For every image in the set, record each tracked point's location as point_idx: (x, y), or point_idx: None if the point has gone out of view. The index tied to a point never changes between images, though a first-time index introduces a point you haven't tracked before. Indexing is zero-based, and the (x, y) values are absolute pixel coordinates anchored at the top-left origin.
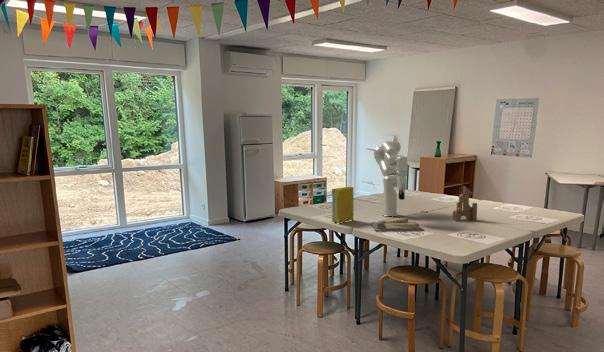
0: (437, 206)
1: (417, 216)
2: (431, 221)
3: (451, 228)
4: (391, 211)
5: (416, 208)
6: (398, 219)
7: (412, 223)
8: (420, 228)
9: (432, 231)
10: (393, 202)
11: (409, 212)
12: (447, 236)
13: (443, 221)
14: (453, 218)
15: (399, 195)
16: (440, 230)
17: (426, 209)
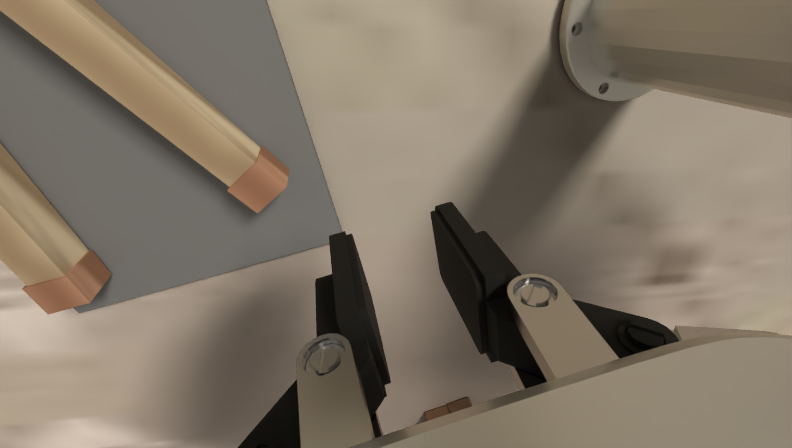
0: (768, 316)
1: (557, 238)
2: (411, 320)
3: (247, 415)
4: (617, 23)
5: (780, 220)
6: (182, 112)
7: (38, 261)
8: (100, 290)
9: (105, 349)
10: (717, 59)
11: (689, 181)
12: (5, 424)
13: (417, 369)
14: (459, 407)
15: (455, 255)
16: (164, 381)
17: (727, 274)
